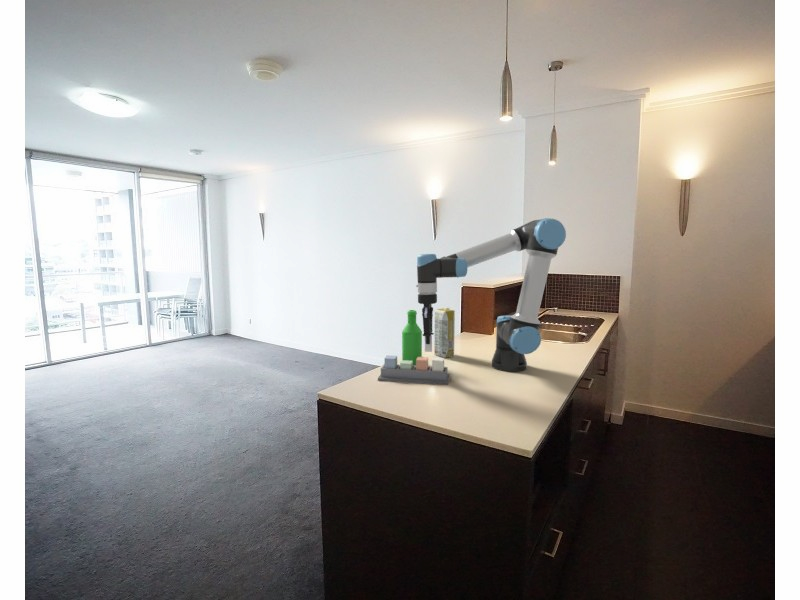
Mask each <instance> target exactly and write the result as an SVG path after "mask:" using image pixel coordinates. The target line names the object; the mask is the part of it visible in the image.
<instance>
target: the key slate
mask: <svg viewBox="0 0 800 600" xmlns="http://www.w3.org/2000/svg"><path fill="white" fill-rule="evenodd" d="M384 364H385V368H391V369H397V365H398V355H386V356H385V357H384Z"/></svg>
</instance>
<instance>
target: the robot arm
mask: <svg viewBox="0 0 800 600" xmlns="http://www.w3.org/2000/svg"><path fill="white" fill-rule="evenodd" d="M566 238H567V231H566V228H565V225H563V223H562V222H561V221H560V220H558V219H555V218H548V217H547V218H546V217H545V218H541V219H534V220H532V221H529V222H527V223H525V224H523V225H521V226H519V227H516V228H514V229H510V232H509V233H507V234H504V235H501V236H499V237H496V238H493V239H491V240H488V241H484V242H482V243H480V244H477V245H475V246H471V247H468V248H466V249H463V250H461V251H458V252H455V253H453V254H449V255H447V256H443V257H440V258H437V254H435V253H421V254H418V255H417V263H416V264H417V265H416V270H417V271H416V273H417V274H416V275H417V276H416V277H417V285H415V287H416V288H417V292H418V294H417V303H418V304H420V305H423V307H422V309H421V312H422V314H421V315H422V316H421V317H422V325H423V333H422V336H423V337H424V353H425V352H429V353H430V352H431V353H432V352H433V336H435V332H433V315H434V314H433V312H434V307H433V304H436V303H437V302H438V295H437V292H438V282H437V279H438V278H440V279H441V278H442V279H443V278H458V279H459V278H464V277H466V276H467V274H468V268H469V267H472V266H473V267H474V266H475V265H478V264H481V263H484V262H487V261H489V260H493V259H494V258H498V257H500V256H503V255H505V254H508V253H511V252H514V251H517V252H521V251H525V250H526V251H525V252H527V254H528V258H527V263H526V267H525V272H524V275H523V280H522V285H521V288H520V292H519V298H518V303H517V306H516V312H515V313H514V314H513V315H500V316H497V319H496V322H495V323H496V336H495V339H496V340H495V343H496V345H495V350H494V351H495V352H494V353H493V356H492V359H491V368H493V369H496V370H498V371H499V370H500V371H503V372H522V371H525V370H527V367H528V364H527V358H526V355H530V354H532V353H534V352H536V351H537V350H538V348H539V347H540V345H541V343H542V335H541V333H540V332H539V331H540V327H541V321H540V320H539V313H540V308H541V304H542V301H543V297H544V296H543V295H544V291H545V287H546V283H547V279H548V274H549V270H550V266H551V261H552V259H554V258H555V257H557V255H558V250H559V248H560V247H561V246H562V245H563V244H564V243H565V241H566Z"/></svg>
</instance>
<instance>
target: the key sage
mask: <svg viewBox="0 0 800 600" xmlns="http://www.w3.org/2000/svg"><path fill="white" fill-rule="evenodd" d="M399 365H400V369H409V370H413V361H408V360H401V361H400V362H399Z"/></svg>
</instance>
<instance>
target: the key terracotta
mask: <svg viewBox="0 0 800 600" xmlns="http://www.w3.org/2000/svg"><path fill="white" fill-rule="evenodd" d="M428 366H429V357H425V356H422V357H417V359H416V370H427V371H428Z"/></svg>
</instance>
